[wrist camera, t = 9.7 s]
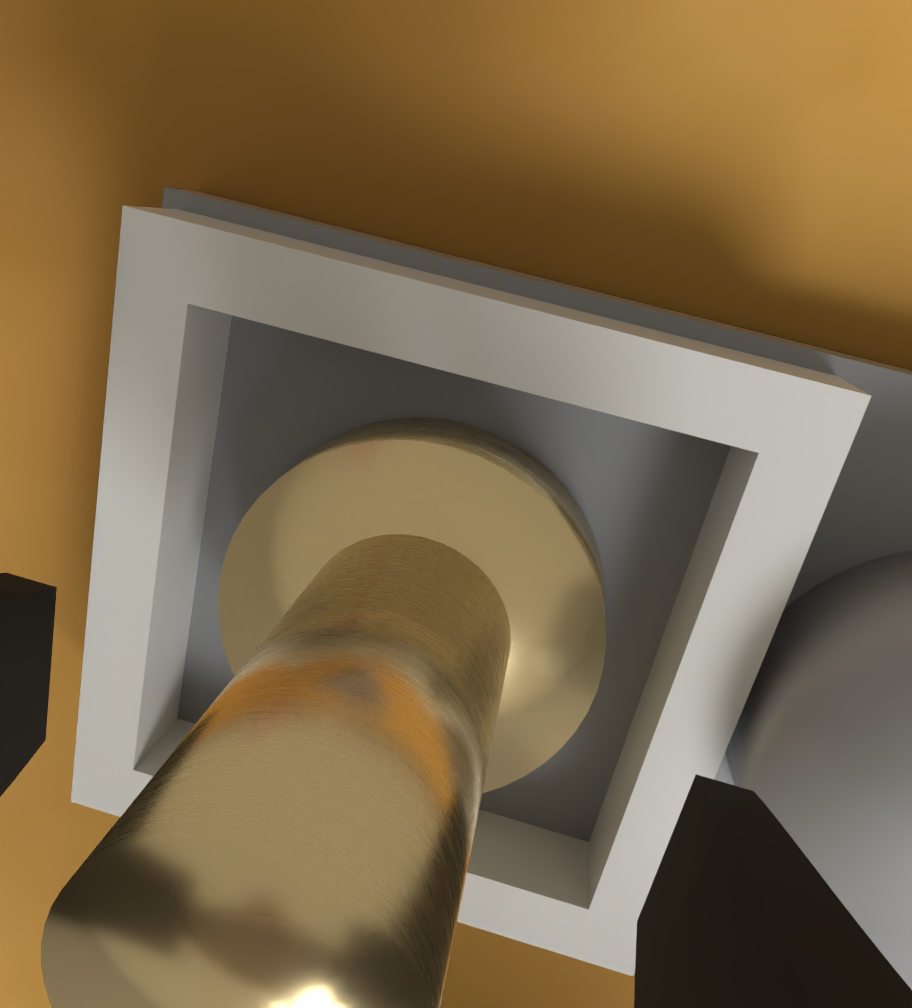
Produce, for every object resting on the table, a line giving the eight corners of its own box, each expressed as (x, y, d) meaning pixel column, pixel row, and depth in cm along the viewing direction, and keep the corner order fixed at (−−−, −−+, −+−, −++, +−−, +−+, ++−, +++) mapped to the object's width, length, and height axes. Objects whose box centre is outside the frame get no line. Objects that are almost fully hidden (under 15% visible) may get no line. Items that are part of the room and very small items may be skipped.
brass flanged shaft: (547, 783, 14) (500, 1354, 7) (233, 686, 14) (-119, 1130, 7) (653, 476, 12) (741, 825, 5) (288, 373, 12) (-118, 560, 5)
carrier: (1015, 991, 15) (1136, 1206, 12) (133, 725, 16) (16, 851, 13) (1339, 478, 11) (1640, 574, 8) (195, 190, 13) (57, 174, 9)
